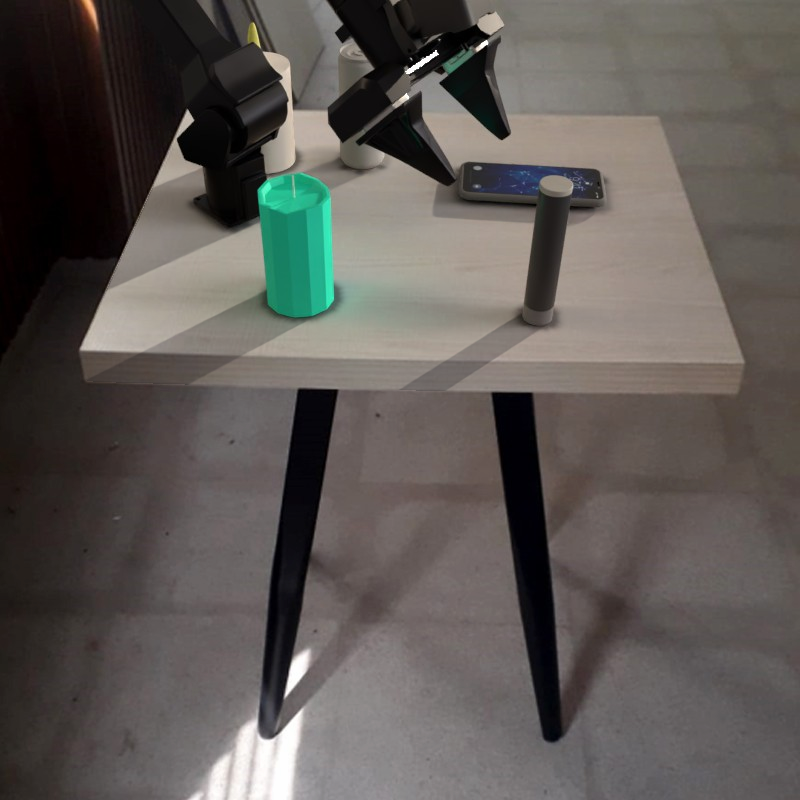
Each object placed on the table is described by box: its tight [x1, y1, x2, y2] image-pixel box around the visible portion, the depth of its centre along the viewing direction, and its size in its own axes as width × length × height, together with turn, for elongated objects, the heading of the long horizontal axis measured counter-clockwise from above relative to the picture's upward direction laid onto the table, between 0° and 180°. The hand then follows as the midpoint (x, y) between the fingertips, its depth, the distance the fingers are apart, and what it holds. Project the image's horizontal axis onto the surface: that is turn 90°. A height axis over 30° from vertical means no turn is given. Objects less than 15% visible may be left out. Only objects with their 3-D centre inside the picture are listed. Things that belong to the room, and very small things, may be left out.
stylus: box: [521, 175, 573, 327], centre depth 79 cm, size 3×3×13 cm
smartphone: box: [458, 161, 608, 208], centre depth 99 cm, size 7×1×15 cm
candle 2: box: [258, 172, 335, 318], centre depth 80 cm, size 6×6×12 cm
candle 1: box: [247, 22, 296, 175], centre depth 98 cm, size 6×6×15 cm
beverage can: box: [337, 42, 385, 170], centre depth 99 cm, size 5×5×12 cm
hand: (480, 159), depth 77 cm, fingers open, 9 cm apart
